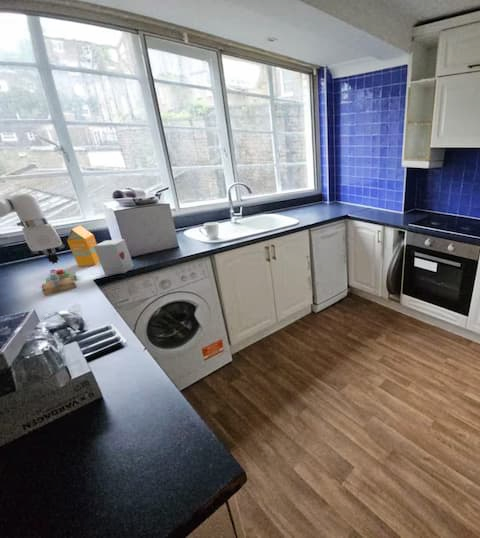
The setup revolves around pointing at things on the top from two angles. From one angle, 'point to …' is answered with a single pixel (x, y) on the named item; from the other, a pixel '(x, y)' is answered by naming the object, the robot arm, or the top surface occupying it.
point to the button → (60, 272)
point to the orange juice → (83, 246)
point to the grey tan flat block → (55, 277)
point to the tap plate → (58, 286)
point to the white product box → (114, 256)
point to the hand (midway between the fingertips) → (55, 262)
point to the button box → (63, 276)
